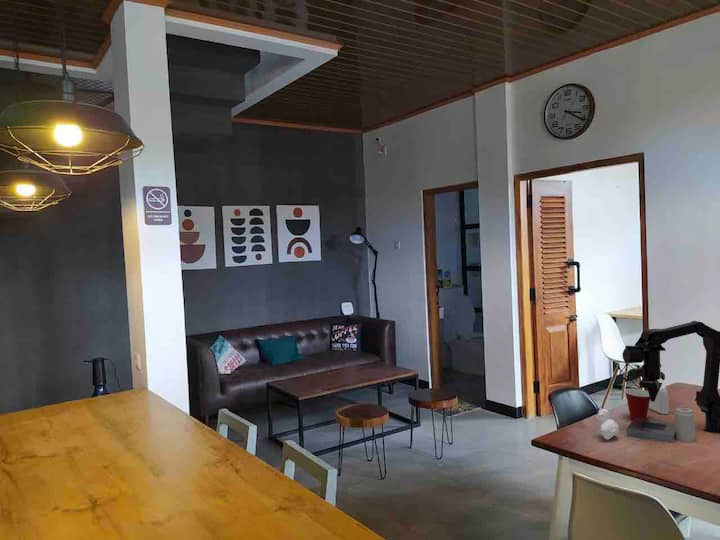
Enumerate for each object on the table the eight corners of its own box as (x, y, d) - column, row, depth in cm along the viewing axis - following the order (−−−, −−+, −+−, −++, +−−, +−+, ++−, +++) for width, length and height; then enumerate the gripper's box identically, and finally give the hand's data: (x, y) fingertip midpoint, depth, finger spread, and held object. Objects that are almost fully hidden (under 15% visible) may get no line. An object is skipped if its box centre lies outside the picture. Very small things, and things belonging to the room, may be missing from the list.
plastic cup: (652, 424, 224) (652, 395, 224) (623, 421, 230) (622, 393, 230) (654, 417, 234) (653, 389, 233) (626, 414, 239) (625, 387, 239)
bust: (615, 444, 204) (615, 415, 204) (594, 441, 209) (593, 412, 208) (621, 435, 214) (620, 406, 214) (600, 431, 219) (600, 404, 218)
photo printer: (647, 408, 247) (646, 380, 246) (656, 407, 247) (655, 380, 246) (661, 414, 236) (660, 386, 236) (670, 414, 237) (670, 386, 236)
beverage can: (693, 438, 208) (692, 407, 208) (696, 444, 202) (695, 412, 202) (674, 437, 211) (673, 406, 210) (676, 442, 205) (675, 411, 204)
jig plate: (635, 424, 226) (635, 417, 225) (679, 431, 216) (679, 423, 216) (626, 435, 213) (626, 428, 213) (673, 443, 203) (673, 435, 203)
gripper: (634, 355, 226) (635, 393, 226) (624, 364, 211) (625, 404, 211) (664, 358, 219) (665, 396, 219) (656, 367, 204) (657, 408, 205)
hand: (652, 401), depth 214 cm, fingers closed
